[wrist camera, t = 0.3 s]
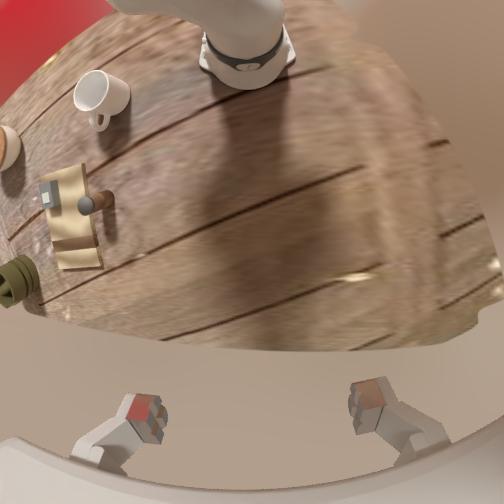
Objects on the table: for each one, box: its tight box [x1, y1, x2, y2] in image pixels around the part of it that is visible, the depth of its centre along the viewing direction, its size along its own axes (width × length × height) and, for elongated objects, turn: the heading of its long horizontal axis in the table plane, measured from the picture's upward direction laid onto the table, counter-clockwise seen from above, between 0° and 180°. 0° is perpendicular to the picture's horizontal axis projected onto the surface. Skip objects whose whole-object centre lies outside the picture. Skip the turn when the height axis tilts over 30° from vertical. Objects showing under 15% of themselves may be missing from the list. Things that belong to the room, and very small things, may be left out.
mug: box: [74, 70, 130, 132], centre depth 43 cm, size 12×8×10 cm
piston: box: [0, 255, 39, 308], centre depth 56 cm, size 11×12×11 cm
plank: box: [41, 163, 103, 269], centre depth 56 cm, size 24×14×2 cm, turn 5°
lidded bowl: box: [0, 126, 21, 172], centre depth 44 cm, size 13×13×11 cm
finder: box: [39, 180, 61, 209], centre depth 51 cm, size 6×4×3 cm, turn 5°
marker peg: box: [77, 190, 114, 216], centre depth 50 cm, size 4×4×10 cm
